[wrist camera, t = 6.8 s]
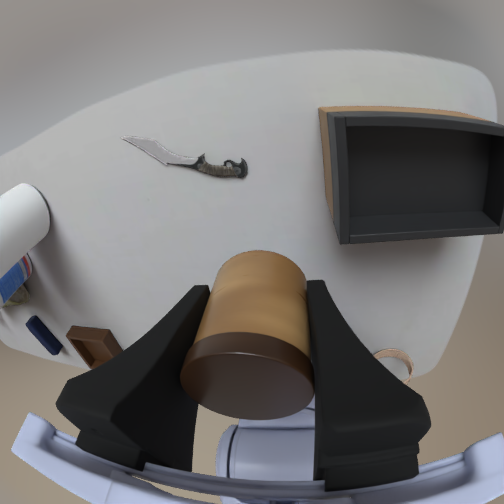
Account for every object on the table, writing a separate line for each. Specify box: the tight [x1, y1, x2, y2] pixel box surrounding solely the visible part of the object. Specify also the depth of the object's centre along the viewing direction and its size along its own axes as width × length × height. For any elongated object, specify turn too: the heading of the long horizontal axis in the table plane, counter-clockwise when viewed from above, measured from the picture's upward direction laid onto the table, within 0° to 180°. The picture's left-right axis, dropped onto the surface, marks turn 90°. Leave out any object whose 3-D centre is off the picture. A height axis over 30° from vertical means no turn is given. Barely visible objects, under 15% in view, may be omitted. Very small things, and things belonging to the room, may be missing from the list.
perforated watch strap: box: [374, 349, 413, 385], centre depth 26 cm, size 3×5×5 cm, turn 100°
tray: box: [66, 326, 123, 369], centre depth 33 cm, size 7×7×2 cm
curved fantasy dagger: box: [122, 136, 247, 178], centre depth 19 cm, size 10×2×1 cm, turn 77°
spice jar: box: [180, 250, 315, 420], centre depth 10 cm, size 4×4×5 cm
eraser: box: [26, 316, 63, 355], centre depth 34 cm, size 2×2×7 cm
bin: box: [318, 106, 504, 245], centre depth 14 cm, size 11×6×7 cm, turn 99°
